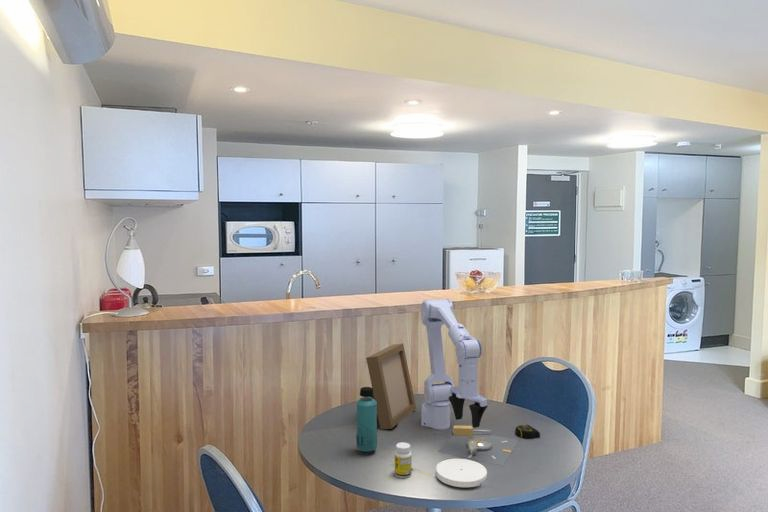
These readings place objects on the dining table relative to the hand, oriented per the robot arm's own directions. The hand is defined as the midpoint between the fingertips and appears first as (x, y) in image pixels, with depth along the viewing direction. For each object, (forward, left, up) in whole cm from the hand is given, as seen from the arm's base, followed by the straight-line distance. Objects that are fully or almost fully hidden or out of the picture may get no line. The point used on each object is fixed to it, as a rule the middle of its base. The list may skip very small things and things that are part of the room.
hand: (467, 422), depth 163 cm
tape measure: (+14, +21, -10) cm, 27 cm away
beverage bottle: (-27, -14, -10) cm, 32 cm away
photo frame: (-35, +15, -10) cm, 40 cm away
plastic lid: (+4, -16, -10) cm, 19 cm away
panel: (+3, +4, -10) cm, 11 cm away
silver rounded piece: (+3, +2, -8) cm, 9 cm away
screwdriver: (-2, +12, -8) cm, 15 cm away
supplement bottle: (-11, -22, -10) cm, 26 cm away
